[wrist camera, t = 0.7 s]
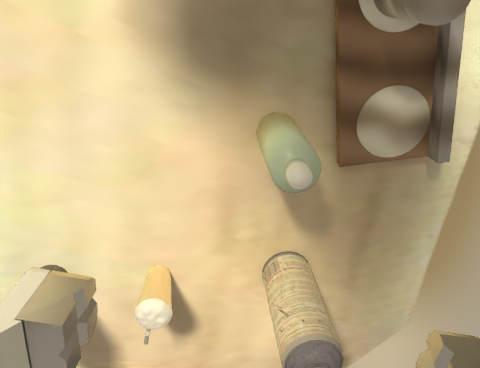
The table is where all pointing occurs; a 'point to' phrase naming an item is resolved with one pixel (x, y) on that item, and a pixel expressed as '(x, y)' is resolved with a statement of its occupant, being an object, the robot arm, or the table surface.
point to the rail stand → (397, 78)
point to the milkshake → (155, 300)
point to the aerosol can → (299, 314)
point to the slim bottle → (287, 153)
